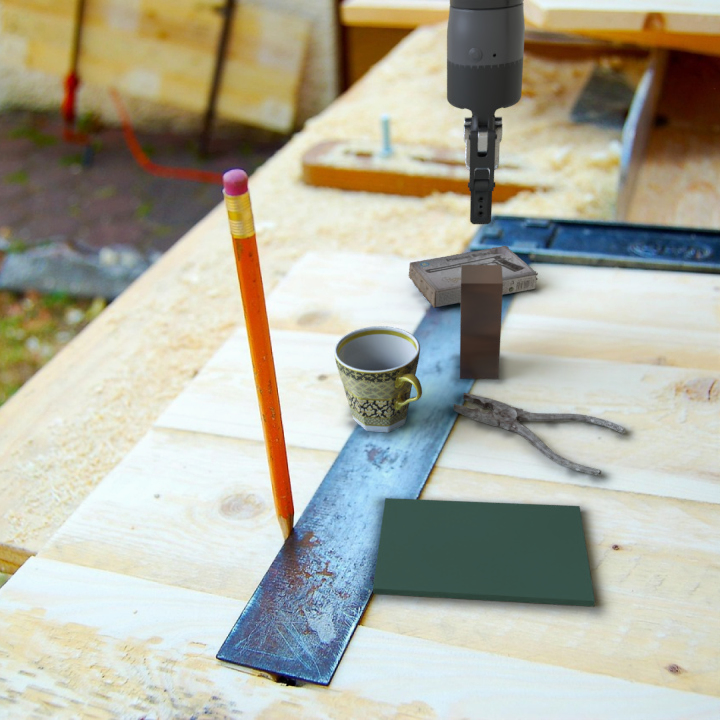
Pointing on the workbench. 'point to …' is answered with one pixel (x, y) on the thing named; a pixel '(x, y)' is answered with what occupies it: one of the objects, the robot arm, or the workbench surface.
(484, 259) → the box
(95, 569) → the workbench surface
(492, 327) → the walnut block
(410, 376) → the ceramic cup
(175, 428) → the workbench surface
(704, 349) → the workbench surface
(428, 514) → the rubber mat
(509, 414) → the pliers
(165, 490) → the workbench surface
